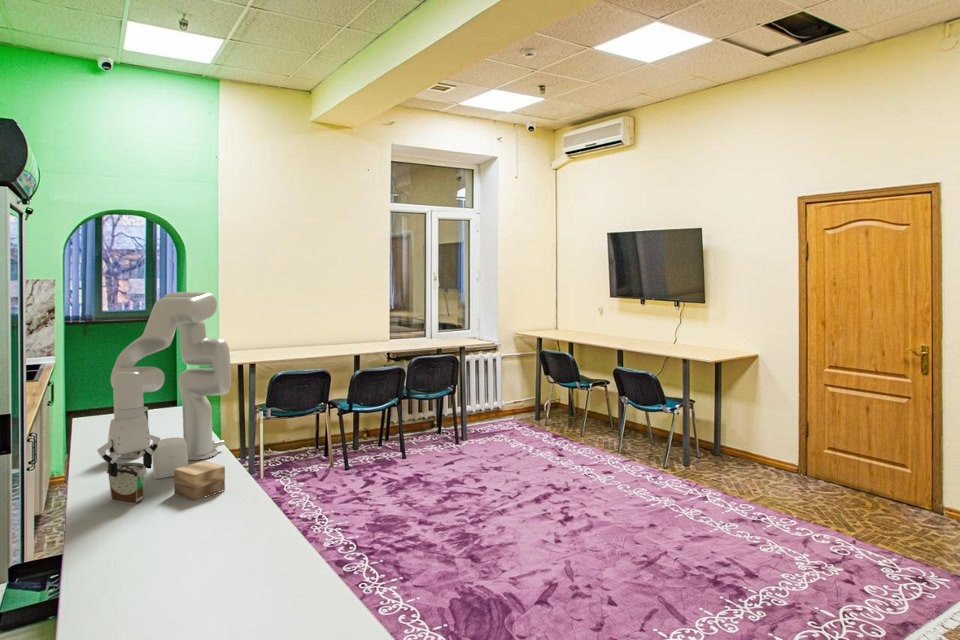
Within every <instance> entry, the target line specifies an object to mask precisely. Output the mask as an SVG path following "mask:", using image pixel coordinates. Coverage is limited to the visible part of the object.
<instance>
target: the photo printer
mask: <svg viewBox="0 0 960 640" xmlns="http://www.w3.org/2000/svg"><path fill="white" fill-rule="evenodd" d="M187 465H189V460H188V455H187V443H186V441H185V439H184V438H183V437H167V438H164V439H160V441H159V443H158V447H157V448H156V449H155V451H154V453H153V454H152V471H153V472H152V473H153V479H154V480H159V479H164V478H169V477H174V469H176V468H180V467H184V466H187Z"/></svg>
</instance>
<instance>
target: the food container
mask: <svg viewBox="0 0 960 640" xmlns="http://www.w3.org/2000/svg"><path fill="white" fill-rule="evenodd" d="M117 472H118V476H117V477H113V476H110V475H109V473H108V468H106V474H108V482H109V491H110V497H111V501H112V502H117V503H123V504H124V503H125V504H130V505H136V504H137V505H139V504H140V503H142V502H143V501H142V500H144V491H145V475H147V473H148V471H147V468H146V467H145V466H144V464H143V463H141V462H124V463H123V462H122V463H117ZM141 501H142V502H141ZM138 503H139V504H138Z"/></svg>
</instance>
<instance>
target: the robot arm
mask: <svg viewBox="0 0 960 640" xmlns="http://www.w3.org/2000/svg"><path fill="white" fill-rule="evenodd" d="M216 298H217V297H215V295H214V294H212V292H206V291H205V292H203V291H202V292H201V291H200V292H199V291H198V292H197V291H195V292H194V291H193V292H192V291H187V292H186V291H184V292H183V291H177V292H176V291H175V292H169V293H166V294H165V295H164V296H163V297H162V298H159V299H158V300H156V302H155V303H154V305H153V307H152V309H151V312H150V314H149V318H148V320H147V322H146V325H145V328H144V331H143V333H142V334H141V335H140V336H139V337H138V338H137V339H135V340H134V341H132V342H131V343H130V344H128V345H127V346H126V347H125V348H124V349H122V351H121V352H120V353H119V355H118V356H117V358H116V360H115V363H114V366H113V368H112V371H111V373H110V374H111V375H110V384H111V387H112V391H113V419H111V420H110V422H109V423H110V424H109V427H108V437H107V440H108V441H107V442H106V443H105V444H104V445H102V446H100V447H99V448H98V449H97V453H98V455H99V456H100V458H101V459H102V460H103V461H105V462H106V463H107V469H108V473H109V475H110V476H113V477H117V476H118V472H117V464H118V463H117V462H116V461H117V460H118V459H119V457H121V455H124V454H129V453H133V452H138V451H142V450H143V451H144V452H145V454H143V455H142V462H143V463H142V464H144V466H145V467H146V469H152V465H153V456H152V454H153V453H154V451H155V449H156V448H157V447H158V443H159V441H160V440H161V437H159V436H157V435H152V434H151V433H150V428H149V421H148V422H147V418H146V416H144V412H145V411H149V407H148V406H145V403H144V393H152V392H157V391H158V390H160V389H162V387H163V385H164V383H165V380H166V378H165V377H166V376H165V373H164V372H163V370H162V369H160V368H159V367H156V366H135V365H136V364H137V363H138V362H139V361H140V360H141V359H143V358H145V357H147V356H150V355H152V354H155V353H157V352H160V351H163V350H165V349H166V348H169V347H170V346H171V345H172V342H173V339H174V337H175V333H176V330H177V327H178V332H179V342H180V343H179V345H180V356H181V360H182V362H183V363H184V364H185V365H187V366H212V367H213V368H206V367H205V368H200V367H199V368H198V367H197V368H188V369H185V370H183V371H182V372H181V373H180V374H179V376H178V379H177V380H178V381H177V383H178V389H179V392H180V398H181V403H182V404H181V405H182V406H181V407H182V408H181V409H182V429H183V430H182V433H183V434H182V436H183V437H182V438H184V439H185V441H186V443H187V455H188V461H199V459H201V460H206V459H210V458H213V457H215V456H217V455H218V449H217V448H218V447H223V446H224V445H225V444H226V441H225V440H224V439H221V440H214V439H213V420H212V419H213V417H212V416H213V415H212V412H213V411H212V410H213V409H212V404H211V402H210V401H209V399H208V397H207V396H223V395H226V394H228V393H229V392H230V390H231V386H232V372H231V371H232V369H231V354H230V348H229V344H228V343H227V342H226V340H224V339H222V338H208V337H207V329H206V324H205V320H207V319H210V318H211V317H212V316H214V314H215V313H216V311H217V308H218V301H217V299H216ZM151 440H152V443H151ZM106 451H108V453H109V455H108V454H107V452H106ZM216 454H217V455H216ZM212 456H213V457H212ZM209 457H210V458H209ZM108 473H107V474H108ZM109 475H108V476H109Z"/></svg>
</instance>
